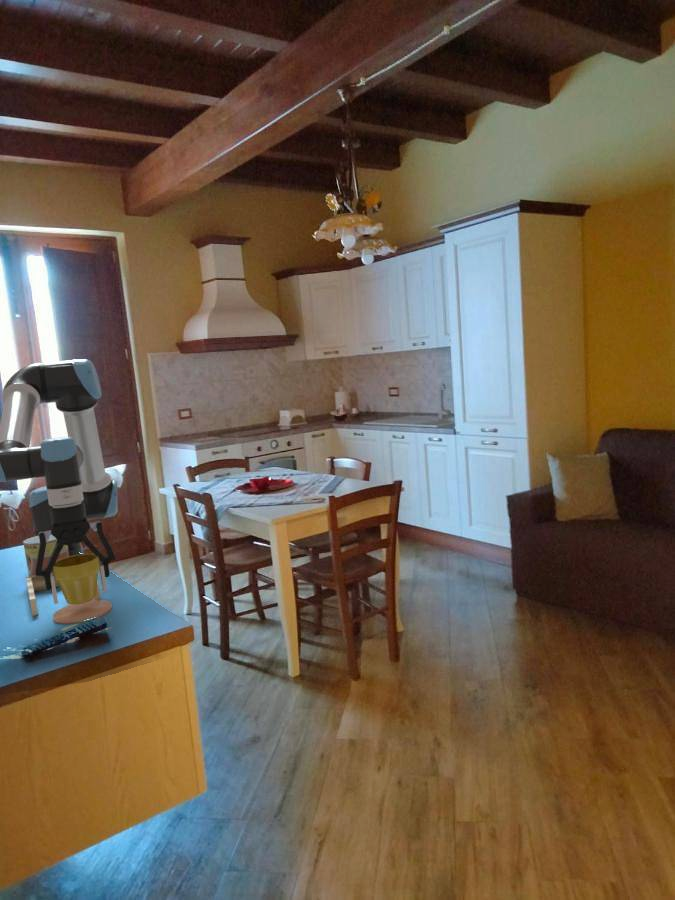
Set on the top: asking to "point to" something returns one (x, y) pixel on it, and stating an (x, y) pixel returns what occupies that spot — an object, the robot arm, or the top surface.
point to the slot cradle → (39, 584)
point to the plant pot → (78, 577)
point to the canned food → (32, 551)
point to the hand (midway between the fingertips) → (80, 596)
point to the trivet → (82, 611)
